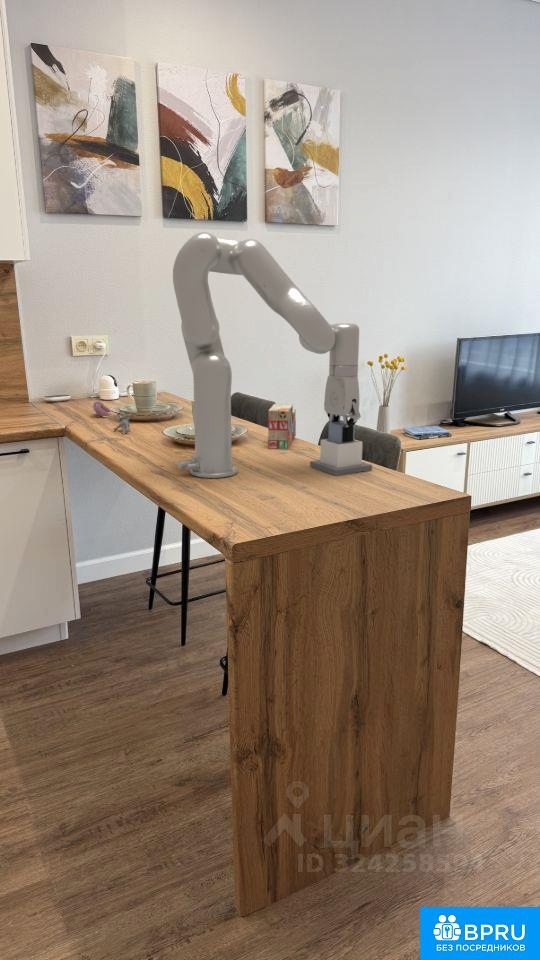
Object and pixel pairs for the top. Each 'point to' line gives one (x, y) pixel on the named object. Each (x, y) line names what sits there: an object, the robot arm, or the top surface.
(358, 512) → the top surface
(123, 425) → the elephant figurine
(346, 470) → the tower base
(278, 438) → the stack of blocks
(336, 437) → the top brick
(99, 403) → the purple rounded piece
